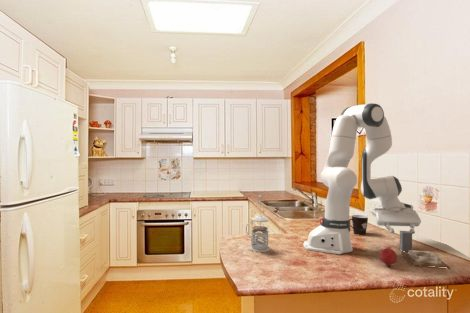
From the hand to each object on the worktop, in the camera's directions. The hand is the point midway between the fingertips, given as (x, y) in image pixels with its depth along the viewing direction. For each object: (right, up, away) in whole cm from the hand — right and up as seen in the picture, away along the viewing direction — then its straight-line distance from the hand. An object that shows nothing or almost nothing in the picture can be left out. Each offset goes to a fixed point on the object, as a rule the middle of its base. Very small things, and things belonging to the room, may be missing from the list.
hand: (402, 232), depth 135 cm
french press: (-69, -7, -2) cm, 70 cm away
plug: (0, -8, -3) cm, 8 cm away
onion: (-19, -8, -22) cm, 30 cm away
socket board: (-1, -8, -16) cm, 18 cm away
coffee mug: (-10, -8, +27) cm, 30 cm away
